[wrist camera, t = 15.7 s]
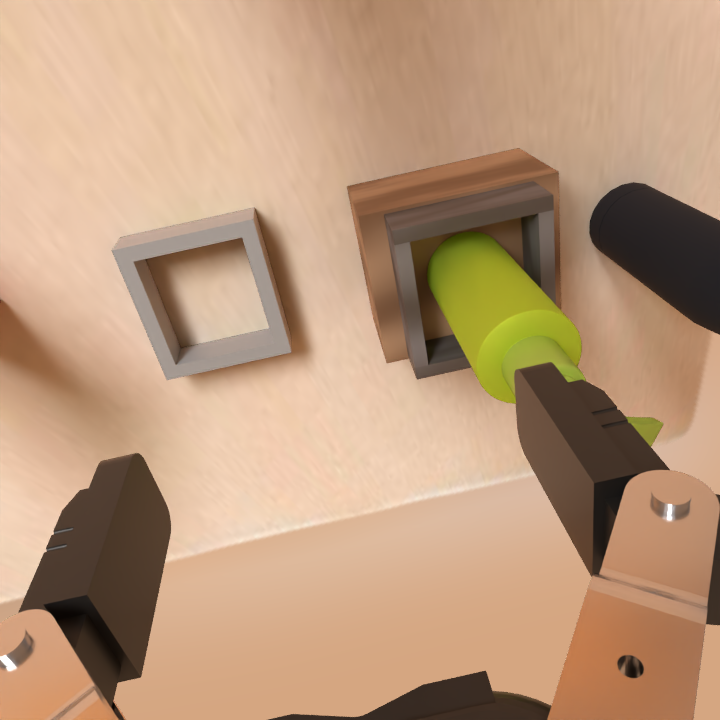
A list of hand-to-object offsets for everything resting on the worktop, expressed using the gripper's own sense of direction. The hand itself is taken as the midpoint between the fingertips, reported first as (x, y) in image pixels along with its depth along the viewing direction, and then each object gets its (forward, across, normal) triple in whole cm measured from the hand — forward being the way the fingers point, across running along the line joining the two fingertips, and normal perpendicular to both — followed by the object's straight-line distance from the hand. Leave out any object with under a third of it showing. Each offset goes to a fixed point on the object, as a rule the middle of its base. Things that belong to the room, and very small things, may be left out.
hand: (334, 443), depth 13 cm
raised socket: (+38, -10, +11) cm, 41 cm away
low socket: (+38, +10, +11) cm, 41 cm away
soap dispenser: (+30, -10, +11) cm, 34 cm away
